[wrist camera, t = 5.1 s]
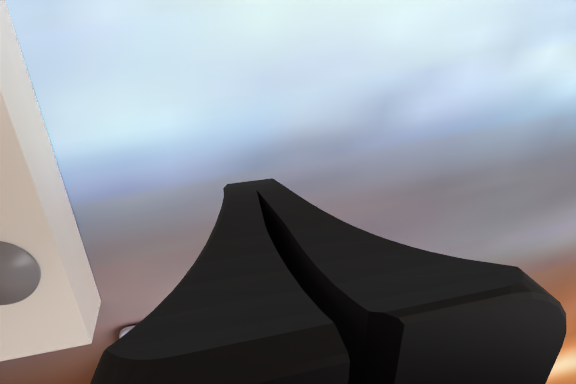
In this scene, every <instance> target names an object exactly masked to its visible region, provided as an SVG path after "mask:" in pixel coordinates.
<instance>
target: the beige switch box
mask: <svg viewBox="0 0 576 384" xmlns="http://www.w3.org/2000/svg"><path fill="white" fill-rule="evenodd" d="M100 304H101V300H100V297H99V293H98V290H97V287H96V284H95V281H94V278H93V275H92V271H91V268H90V265H89V262H88V259H87V256H86V253H85V249H84V246H83V243H82V240H81V237H80V234H79V231H78V227H77V224H76V221H75V218H74V215H73V212H72V209H71V205H70V202H69V199H68V196H67V193H66V190H65V187H64V183H63V180H62V177H61V174H60V171H59V168H58V165H57V161H56V158H55V155H54V152H53V149H52V146H51V143H50V140H49V136H48V133H47V130H46V127H45V124H44V121H43V118H42V114H41V111H40V108H39V105H38V102H37V99H36V96H35V92H34V89H33V86H32V83H31V80H30V77H29V74H28V70H27V67H26V64H25V61H24V58H23V55H22V52H21V48H20V45H19V42H18V39H17V36H16V33H15V30H14V26H13V23H12V20H11V17H10V14H9V11H8V8H7V4H6V1H5V0H0V361H5V360H10V359H15V358H20V357H25V356H31V355H36V354H41V353H46V352H51V351H56V350H61V349H66V348H72V347H77V346H82V345H87V344H91V343H92V339H93V334H94V330H95V326H96V321H97V317H98V312H99V308H100Z"/></svg>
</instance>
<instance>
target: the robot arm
mask: <svg viewBox="0 0 576 384" xmlns="http://www.w3.org/2000/svg"><path fill="white" fill-rule="evenodd" d="M565 335H566V313H565V311H564V309H563V307H562V306H561V304H560V302H559V301H558V300H556V299H555V298H554V297H553V296H552V295H550V294H549V293H548V292H547V291H546V290H545V289H543V288H542V287H541V286H540V285H539V284H537V283H536V282H535V281H534V280H533V279H531V278H530V277H529V276H528V275H527V274H525V273H524V272H523V271H522V270H521V269H520V268H518V267H515V266H508V265H501V264H494V263H488V262H481V261H474V260H467V259H462V258H456V257H452V256H447V255H443V254H438V253H434V252H429V251H425V250H421V249H418V248H414V247H410V246H407V245H404V244H400V243H397V242H394V241H391V240H388V239H385V238H382V237H379V236H376V235H374V234H371V233H369V232H366V231H364V230H361V229H359V228H357V227H354V226H352V225H350V224H348V223H345V222H343V221H341V220H339V219H337V218H335V217H334V216H332V215H330V214H328V213H326V212H324V211H322V210H321V209H319V208H317V207H316V206H314V205H312V204H311V203H309V202H307V201H306V200H304V199H303V198H301V197H300V196H298V195H297V194H295V193H294V192H292V191H291V190H289V189H288V188H286V187H285V186H283V185H282V184H280V183H279V182H277V181H276V180H274V179H265V180H257V181H249V182H241V183H233V184H227V185H226V186H225V187H224V199H223V203H222V207H221V210H220V213H219V216H218V219H217V222H216V224H215V226H214V229H213V231H212V233H211V235H210V237H209V239H208V241H207V243H206V245H205V247H204V248H203V250H202V252H201V253H200V255H199V257H198V258H197V260H196V261H195V263H194V264H193V266H192V267H191V268H190V270H189V271H188V272H187V274H186V275H185V276H184V278H183V279H182V280H181V281H180V283H179V284H178V285H177V286H176V287H175V289H174V290H173V291H172V292H171V293H170V294H169V295H168V296H167V297H166V298H165V299H164V300H163V301H162V302H161V303H160V304H159V305H158V306H157V307H156V308H155V309H154V310H153V311H152V312H151V313H150V314H149V315H148V316H147V317H146V318H144V319H143V320H142V321H141V322H140V323H138V324H137V325H135V326H130V327H126V328H123V329H122V330H121V331H120V334H119V339H118V340H117V341H116V342H115V343H113V344H112V345H111V346H109V347H108V348H107V349H105V351H104V352H103V354H102V356H101V359H100V361H99V363H98V366H97V368H96V371H95V373H94V376H93V378H92V381H91V383H90V384H545V383H546V381H547V379H548V376H549V374H550V372H551V370H552V368H553V365H554V363H555V361H556V359H557V356H558V354H559V352H560V350H561V348H562V345H563V341H564V338H565Z"/></svg>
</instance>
